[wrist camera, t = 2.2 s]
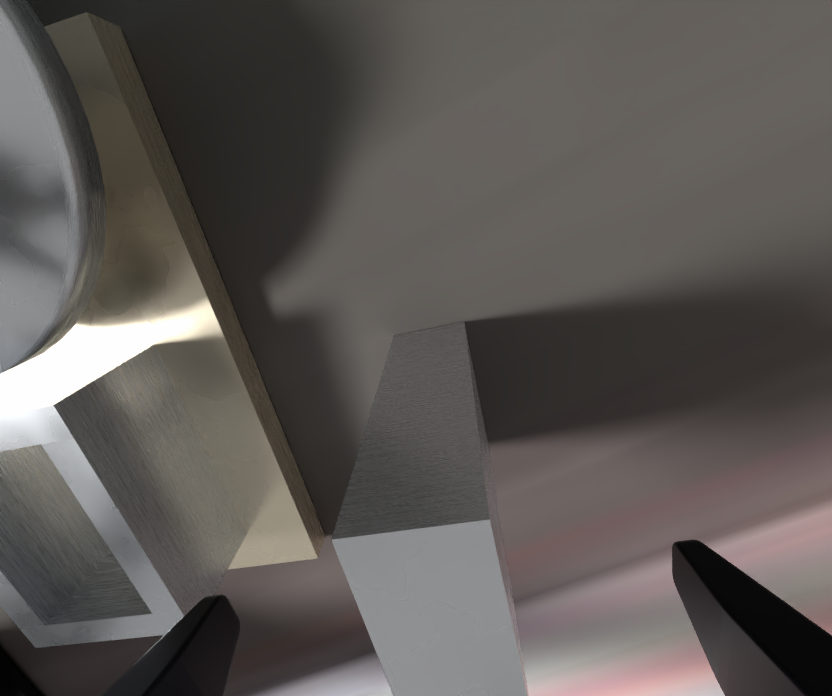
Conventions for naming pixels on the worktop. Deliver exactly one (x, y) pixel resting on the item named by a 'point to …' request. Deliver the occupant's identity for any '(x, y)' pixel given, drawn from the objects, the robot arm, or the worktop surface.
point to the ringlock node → (119, 361)
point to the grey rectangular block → (430, 528)
